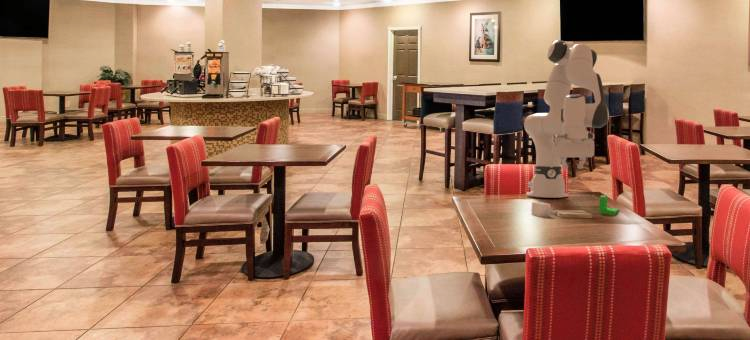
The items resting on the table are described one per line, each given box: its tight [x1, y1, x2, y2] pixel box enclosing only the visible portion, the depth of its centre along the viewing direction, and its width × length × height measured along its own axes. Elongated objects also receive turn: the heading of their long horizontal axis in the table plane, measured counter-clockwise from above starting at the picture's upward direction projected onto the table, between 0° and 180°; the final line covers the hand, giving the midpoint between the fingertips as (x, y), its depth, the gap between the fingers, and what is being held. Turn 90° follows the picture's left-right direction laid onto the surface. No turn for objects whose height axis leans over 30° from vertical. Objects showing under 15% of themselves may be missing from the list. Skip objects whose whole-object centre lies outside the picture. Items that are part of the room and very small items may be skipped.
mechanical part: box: [598, 194, 620, 216], centre depth 258 cm, size 12×6×8 cm, turn 149°
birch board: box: [553, 209, 594, 219], centre depth 250 cm, size 14×12×2 cm
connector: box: [531, 201, 555, 218], centre depth 248 cm, size 12×4×5 cm, turn 17°
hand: (572, 168), depth 249 cm, fingers open, 7 cm apart
